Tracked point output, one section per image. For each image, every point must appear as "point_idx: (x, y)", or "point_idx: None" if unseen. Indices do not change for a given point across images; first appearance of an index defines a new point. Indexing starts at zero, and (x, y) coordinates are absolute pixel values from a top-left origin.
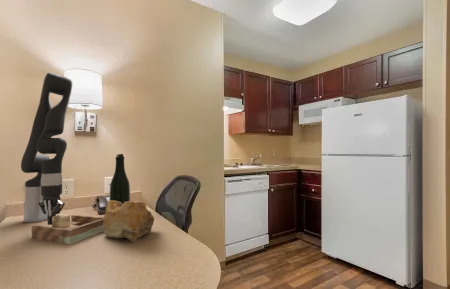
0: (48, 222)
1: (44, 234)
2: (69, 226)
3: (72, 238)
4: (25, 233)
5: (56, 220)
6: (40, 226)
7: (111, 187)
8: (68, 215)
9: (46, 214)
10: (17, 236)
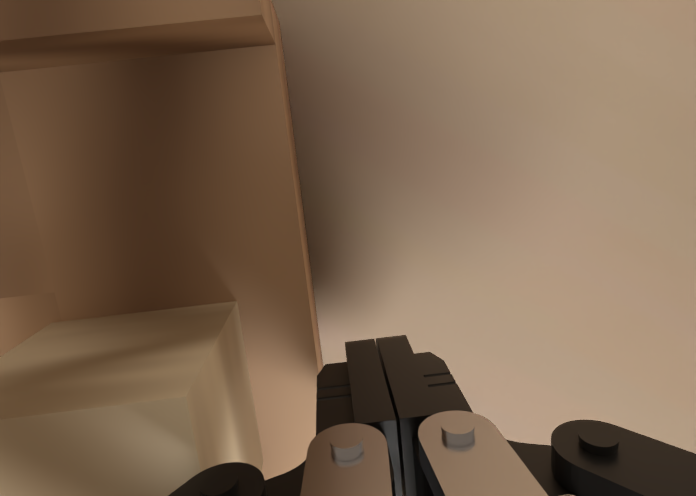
0: (387, 350)
1: None
2: None
3: None
4: (636, 140)
5: (66, 376)
6: (17, 11)
7: None
8: None
9: (490, 430)
10: (608, 13)
